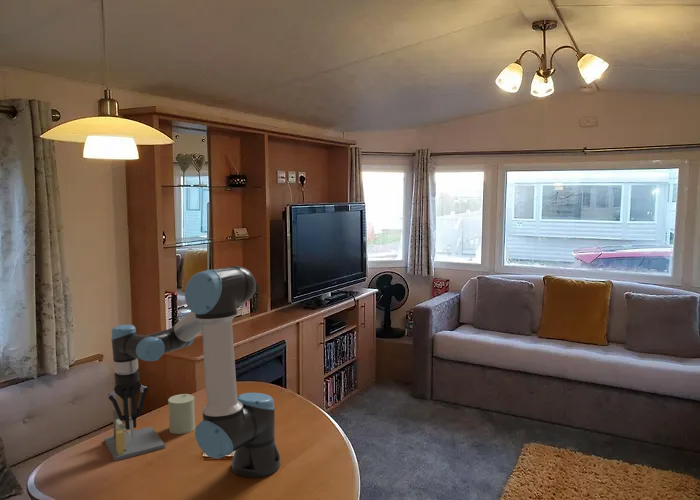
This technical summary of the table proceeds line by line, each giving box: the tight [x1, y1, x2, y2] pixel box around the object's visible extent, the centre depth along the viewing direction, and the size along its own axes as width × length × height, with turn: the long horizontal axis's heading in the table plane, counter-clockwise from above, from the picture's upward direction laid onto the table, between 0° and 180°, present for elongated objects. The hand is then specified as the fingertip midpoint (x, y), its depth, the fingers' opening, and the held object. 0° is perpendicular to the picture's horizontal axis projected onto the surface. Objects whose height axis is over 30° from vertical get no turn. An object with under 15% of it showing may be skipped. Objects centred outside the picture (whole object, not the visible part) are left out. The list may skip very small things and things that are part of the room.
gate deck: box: [103, 408, 166, 462], centre depth 184 cm, size 17×16×11 cm
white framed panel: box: [116, 419, 127, 450], centre depth 182 cm, size 10×2×7 cm, turn 34°
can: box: [167, 393, 196, 435], centre depth 197 cm, size 9×9×12 cm
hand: (131, 437), depth 183 cm, fingers closed
